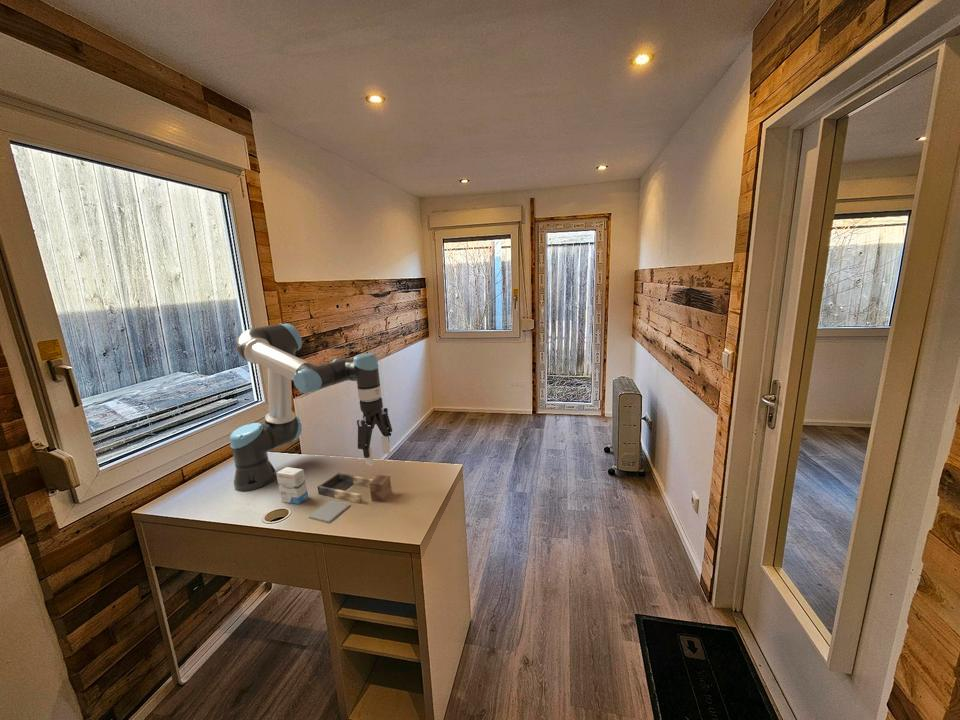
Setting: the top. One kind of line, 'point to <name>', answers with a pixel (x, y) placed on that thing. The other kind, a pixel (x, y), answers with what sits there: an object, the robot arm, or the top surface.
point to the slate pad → (329, 511)
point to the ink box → (292, 485)
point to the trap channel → (343, 487)
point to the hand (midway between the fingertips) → (378, 458)
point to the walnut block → (380, 488)
